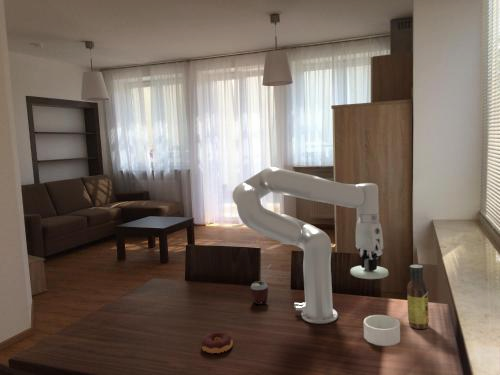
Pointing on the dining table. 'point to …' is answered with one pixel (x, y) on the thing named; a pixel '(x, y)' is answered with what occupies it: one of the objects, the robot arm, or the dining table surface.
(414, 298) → the sauce bottle
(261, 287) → the mate gourd
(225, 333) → the donut
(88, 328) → the dining table surface
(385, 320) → the bowl
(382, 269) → the lid
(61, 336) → the dining table surface
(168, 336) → the dining table surface
